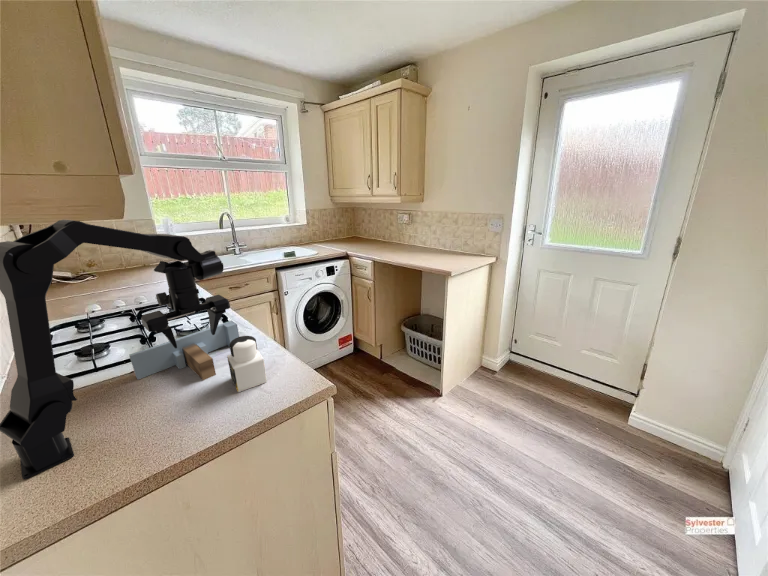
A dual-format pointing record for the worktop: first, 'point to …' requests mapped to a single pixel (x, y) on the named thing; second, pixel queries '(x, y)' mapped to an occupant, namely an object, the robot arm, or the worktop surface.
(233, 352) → the medicine bottle
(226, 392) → the worktop surface
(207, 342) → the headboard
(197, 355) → the brown wooden block
